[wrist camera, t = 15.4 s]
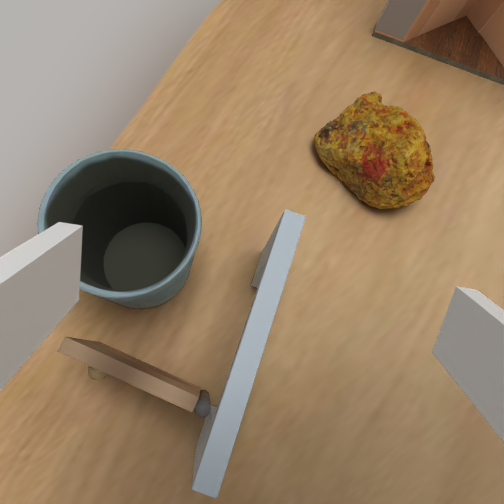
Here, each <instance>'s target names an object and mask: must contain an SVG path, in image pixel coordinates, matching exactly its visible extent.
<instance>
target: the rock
mask: <svg viewBox="0 0 504 504" xmlns="http://www.w3.org/2000/svg"><path fill="white" fill-rule="evenodd" d="M381 100H382V97H381V95H380V94H378V93H376V92H371V93H368V94H363V95H362V96H361V97H359V98H357V100H356V101H355V102H354V103H353V104H352V105H350V106H349V107H347V108H346V109H345V110H344V112H342V113H341V114H340V117H338V118H337V119H336V120H333V121H330V122H329V123H327V124H326V126H325V127H323V128H321V130H320V131H319V132H317V133H316V134H315V138H314V143H315V148H316V150H317V152H318V155H319V157H320V159H321V160H322V162H323V163H324V164H325V165H326V166H327V168H328V169H329V170H331V172H332V174H333V175H335V176H337V177H338V178H339V180H340V181H342V182H344V183H345V185H346V186H347V187H348V188H349V189H350V190H351V191H352V192H353V193H355V194H356V196H357V198H358V199H359V200H361V201H364V202H365V203H366V204H368V205H369V206H372V207H376V208H379V209H381V210H382V209H386V208H391V209H393V208H396V209H398V208H401V207H403V206H408V205H409V204H410V203H413V202H414V201H415V200H420V199H421V198H422V196H423V195H424V194H425V193H426V192H427V191H428V189H429V187H430V185H431V183H432V182H433V181H434V178H435V176H434V174H433V171H432V169H433V164H432V155H431V153H430V152H431V148H430V146H429V144H428V143H427V142H426V136H425V133H424V131H423V129H422V128H421V126H420V125H419V123H418V122H417V120H416V119H415V118H413V117H412V116H410V115H408V113H407V112H405V111H404V110H403V109H401V108H399V107H394V106H389V107H387V106H384V105H383V104H382V102H381Z"/></svg>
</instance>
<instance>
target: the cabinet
mask: <svg viewBox="0 0 504 504" xmlns="http://www.w3.org/2000/svg"><path fill="white" fill-rule="evenodd" d="M372 36H374V37H376V38H379V39H382V40H385V41H387V42H390V43H393V44H395V45H398V46H401V47H403V48H406V49H409V50H411V51H414V52H417V53H420V54H422V55H425V56H428V57H430V58H433V59H436V60H438V61H441V62H444V63H446V64H449V65H452V66H455V67H457V68H460V69H463V70H465V71H468V72H471V73H473V74H476V75H479V76H482V77H484V78H487V79H490V80H492V81H495V82H498V83H500V84H503V85H504V0H388V1H387V3H386V5H385V7H384V9H383V11H382V13H381V15H380V17H379V19H378V21H377V23H376V25H375V28H374V31H373V34H372Z"/></svg>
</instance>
